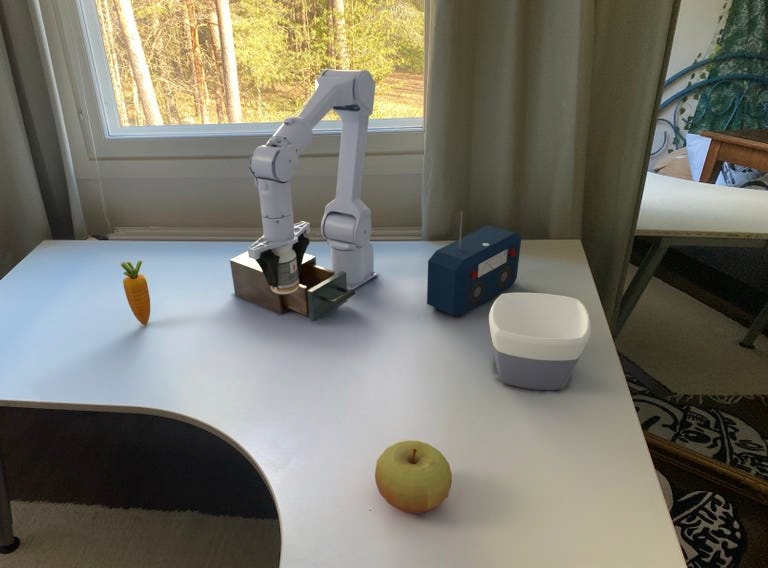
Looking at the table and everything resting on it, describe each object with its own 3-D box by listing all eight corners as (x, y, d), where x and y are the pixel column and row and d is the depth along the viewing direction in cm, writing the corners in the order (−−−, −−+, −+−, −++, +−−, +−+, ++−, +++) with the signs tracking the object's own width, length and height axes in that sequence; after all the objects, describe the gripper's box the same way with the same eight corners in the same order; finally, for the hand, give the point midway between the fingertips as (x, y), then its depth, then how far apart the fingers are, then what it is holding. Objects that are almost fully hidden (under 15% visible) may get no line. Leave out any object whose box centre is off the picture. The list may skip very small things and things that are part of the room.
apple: (436, 466, 89) (438, 422, 85) (460, 518, 81) (464, 473, 77) (368, 476, 88) (367, 433, 84) (386, 530, 80) (385, 485, 76)
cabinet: (318, 292, 137) (315, 256, 132) (280, 314, 130) (276, 277, 126) (272, 275, 146) (268, 241, 141) (234, 294, 139) (229, 259, 135)
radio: (458, 323, 121) (464, 226, 110) (423, 308, 127) (425, 215, 117) (522, 285, 131) (532, 193, 121) (486, 273, 137) (494, 184, 127)
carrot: (159, 318, 133) (145, 254, 125) (153, 331, 129) (137, 265, 121) (137, 319, 134) (121, 255, 126) (130, 331, 129) (113, 266, 122)
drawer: (363, 307, 128) (362, 277, 124) (329, 328, 122) (327, 298, 118) (300, 284, 139) (298, 256, 135) (267, 302, 133) (263, 274, 129)
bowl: (583, 404, 97) (595, 344, 92) (481, 392, 102) (486, 334, 97) (578, 350, 110) (589, 295, 104) (487, 341, 115) (492, 288, 109)
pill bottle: (304, 284, 123) (300, 237, 117) (290, 297, 118) (285, 249, 113) (279, 279, 125) (274, 233, 120) (265, 292, 121) (259, 245, 116)
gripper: (263, 230, 107) (271, 300, 114) (320, 204, 115) (324, 270, 122) (236, 222, 111) (245, 289, 118) (292, 197, 120) (298, 261, 127)
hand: (284, 279), depth 121 cm, fingers closed on pill bottle, 5 cm apart
